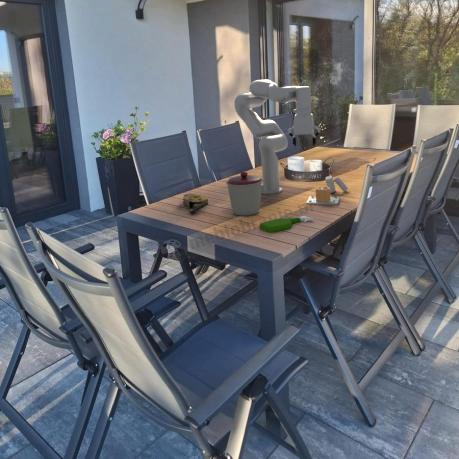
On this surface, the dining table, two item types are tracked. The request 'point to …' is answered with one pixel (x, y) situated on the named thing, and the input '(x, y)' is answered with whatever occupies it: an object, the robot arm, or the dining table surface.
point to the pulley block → (195, 202)
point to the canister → (245, 194)
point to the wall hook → (332, 187)
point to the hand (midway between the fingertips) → (304, 145)
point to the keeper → (331, 202)
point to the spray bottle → (282, 224)
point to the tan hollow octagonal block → (323, 194)
